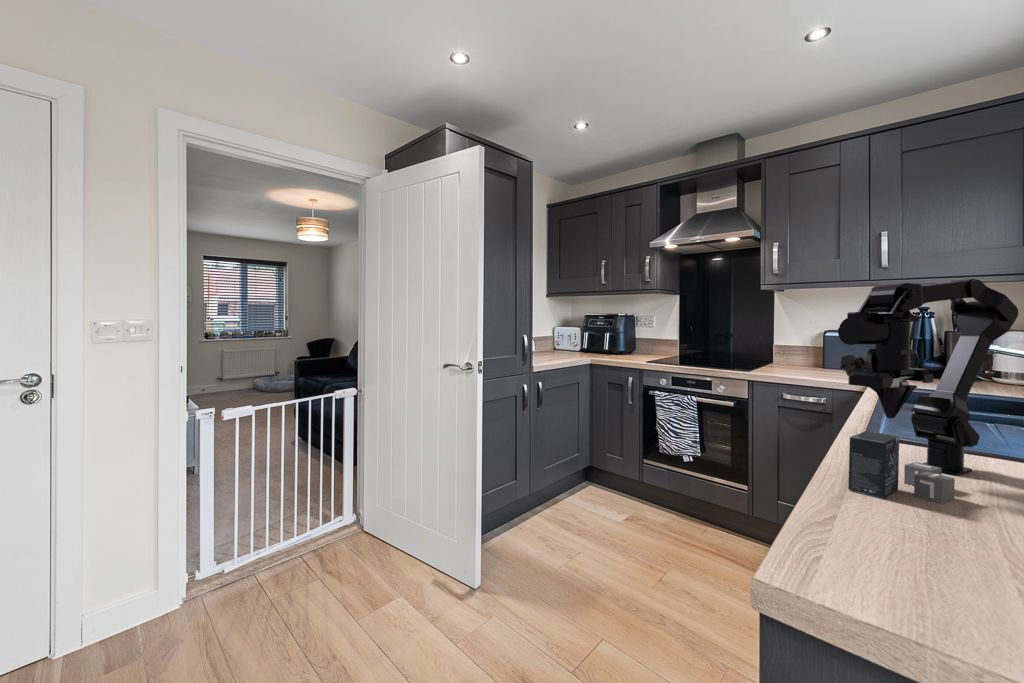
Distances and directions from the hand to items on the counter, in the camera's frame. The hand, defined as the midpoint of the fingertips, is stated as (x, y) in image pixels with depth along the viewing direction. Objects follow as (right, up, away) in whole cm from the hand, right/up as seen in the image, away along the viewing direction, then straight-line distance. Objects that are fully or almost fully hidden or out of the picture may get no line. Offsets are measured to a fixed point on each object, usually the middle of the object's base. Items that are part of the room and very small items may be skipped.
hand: (890, 418), depth 92 cm
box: (-10, -13, -8) cm, 18 cm away
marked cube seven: (-2, -13, -12) cm, 17 cm away
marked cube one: (+1, -12, -6) cm, 14 cm away
